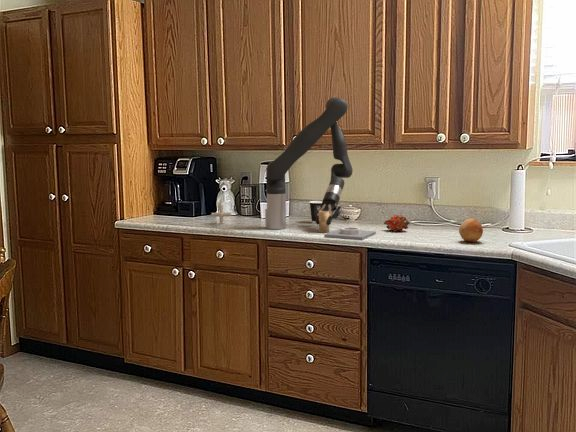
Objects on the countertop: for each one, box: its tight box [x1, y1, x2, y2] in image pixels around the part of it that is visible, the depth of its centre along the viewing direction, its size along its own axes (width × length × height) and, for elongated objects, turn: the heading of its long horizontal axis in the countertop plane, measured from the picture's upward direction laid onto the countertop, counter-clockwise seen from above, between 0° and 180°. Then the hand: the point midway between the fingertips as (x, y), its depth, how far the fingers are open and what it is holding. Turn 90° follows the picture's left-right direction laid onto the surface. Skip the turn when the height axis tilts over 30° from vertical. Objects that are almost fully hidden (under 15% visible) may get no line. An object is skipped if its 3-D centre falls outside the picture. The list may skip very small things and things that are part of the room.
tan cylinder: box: [318, 210, 330, 234], centre depth 283 cm, size 5×5×10 cm
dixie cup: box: [309, 200, 323, 224], centre depth 314 cm, size 8×8×11 cm
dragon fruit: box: [383, 214, 410, 232], centre depth 285 cm, size 8×8×12 cm
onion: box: [458, 217, 484, 243], centre depth 254 cm, size 10×10×10 cm
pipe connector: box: [211, 204, 232, 225], centre depth 312 cm, size 10×10×10 cm
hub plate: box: [323, 226, 377, 241], centre depth 273 cm, size 18×18×3 cm
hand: (322, 223), depth 282 cm, fingers closed on tan cylinder, 4 cm apart
